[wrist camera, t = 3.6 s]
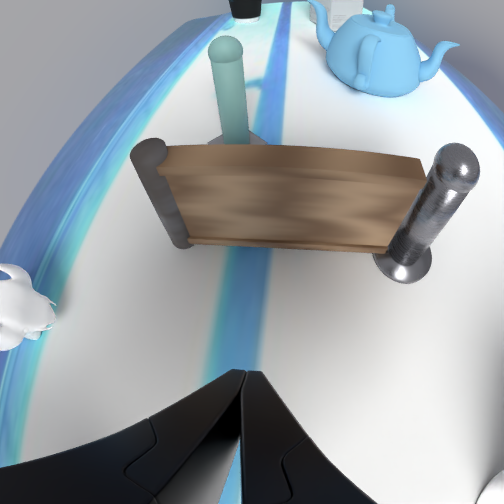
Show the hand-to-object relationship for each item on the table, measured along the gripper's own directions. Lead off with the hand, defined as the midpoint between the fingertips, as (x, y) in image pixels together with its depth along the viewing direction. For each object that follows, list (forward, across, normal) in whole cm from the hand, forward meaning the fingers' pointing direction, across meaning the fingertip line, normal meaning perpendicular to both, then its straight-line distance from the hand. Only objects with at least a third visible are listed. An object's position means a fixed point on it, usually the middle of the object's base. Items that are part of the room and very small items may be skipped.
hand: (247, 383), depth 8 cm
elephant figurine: (+10, -19, -6) cm, 22 cm away
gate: (+15, 0, 0) cm, 15 cm away
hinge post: (+15, +10, 0) cm, 18 cm away
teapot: (+35, +13, +19) cm, 42 cm away
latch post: (+23, -4, +7) cm, 25 cm away
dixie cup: (+51, -7, +36) cm, 63 cm away
